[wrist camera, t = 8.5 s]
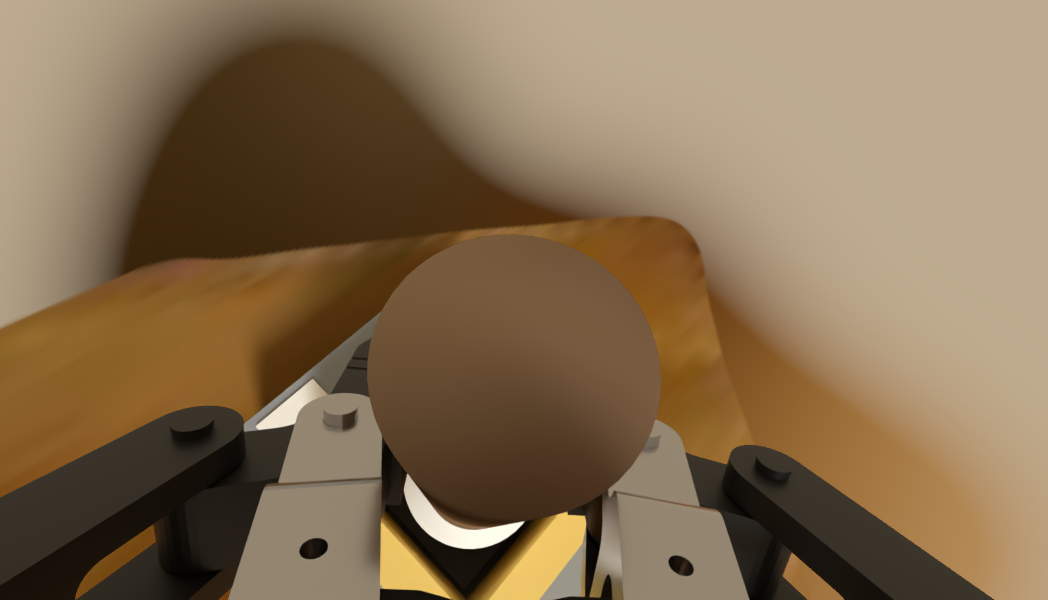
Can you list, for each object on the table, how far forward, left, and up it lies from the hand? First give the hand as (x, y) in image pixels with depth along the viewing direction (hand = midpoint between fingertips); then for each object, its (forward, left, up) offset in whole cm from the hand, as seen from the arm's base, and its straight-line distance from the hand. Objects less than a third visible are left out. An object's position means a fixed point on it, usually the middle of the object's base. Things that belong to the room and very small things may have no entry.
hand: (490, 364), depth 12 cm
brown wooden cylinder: (+1, -2, -5) cm, 6 cm away
